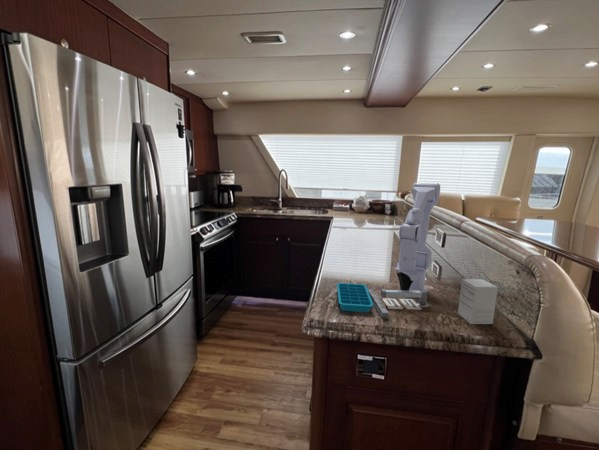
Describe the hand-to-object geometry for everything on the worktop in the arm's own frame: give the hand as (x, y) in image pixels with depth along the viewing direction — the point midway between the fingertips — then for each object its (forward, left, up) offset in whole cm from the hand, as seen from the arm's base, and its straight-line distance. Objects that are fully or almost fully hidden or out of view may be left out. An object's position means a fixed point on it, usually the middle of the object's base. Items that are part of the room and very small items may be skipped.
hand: (404, 292), depth 103 cm
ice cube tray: (-1, -19, -4) cm, 19 cm away
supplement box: (+12, +19, -4) cm, 23 cm away
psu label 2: (+2, +2, -4) cm, 4 cm away
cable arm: (+2, -1, -3) cm, 4 cm away
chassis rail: (+3, -11, -4) cm, 12 cm away
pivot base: (+2, +6, -4) cm, 7 cm away
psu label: (+2, -5, -4) cm, 7 cm away
